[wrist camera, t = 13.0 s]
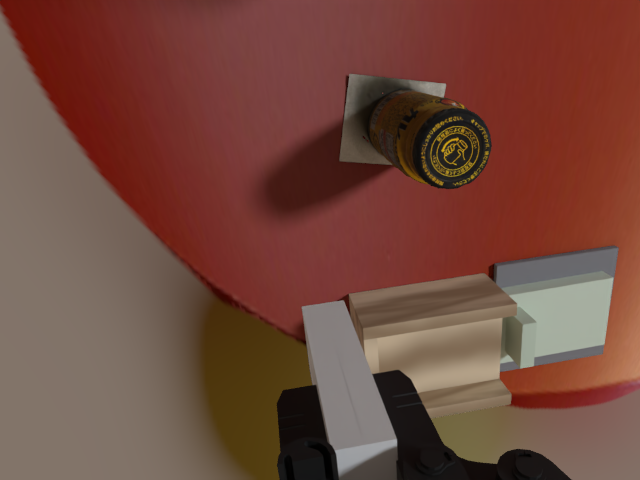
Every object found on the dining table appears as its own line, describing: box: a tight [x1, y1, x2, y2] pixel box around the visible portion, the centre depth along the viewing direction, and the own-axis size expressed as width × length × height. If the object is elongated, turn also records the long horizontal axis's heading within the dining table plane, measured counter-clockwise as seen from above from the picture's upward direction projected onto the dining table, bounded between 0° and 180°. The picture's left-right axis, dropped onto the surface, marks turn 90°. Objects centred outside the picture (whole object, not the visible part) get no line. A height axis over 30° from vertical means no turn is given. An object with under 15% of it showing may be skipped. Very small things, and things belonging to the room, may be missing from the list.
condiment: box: [339, 74, 491, 189], centre depth 36 cm, size 7×8×12 cm
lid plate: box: [500, 271, 613, 368], centre depth 48 cm, size 8×12×5 cm, turn 96°
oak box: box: [349, 273, 517, 418], centre depth 46 cm, size 11×14×6 cm
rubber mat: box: [493, 246, 618, 372], centre depth 50 cm, size 13×13×1 cm
